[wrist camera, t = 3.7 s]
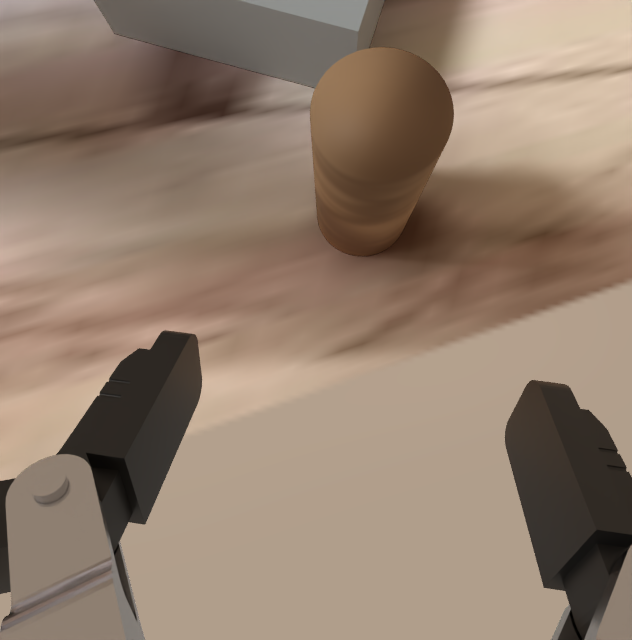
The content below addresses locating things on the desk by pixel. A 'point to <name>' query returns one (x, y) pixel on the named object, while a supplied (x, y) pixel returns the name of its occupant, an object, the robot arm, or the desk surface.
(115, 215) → the desk surface
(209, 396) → the desk surface
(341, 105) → the peg
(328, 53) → the socket block
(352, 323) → the desk surface
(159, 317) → the desk surface
